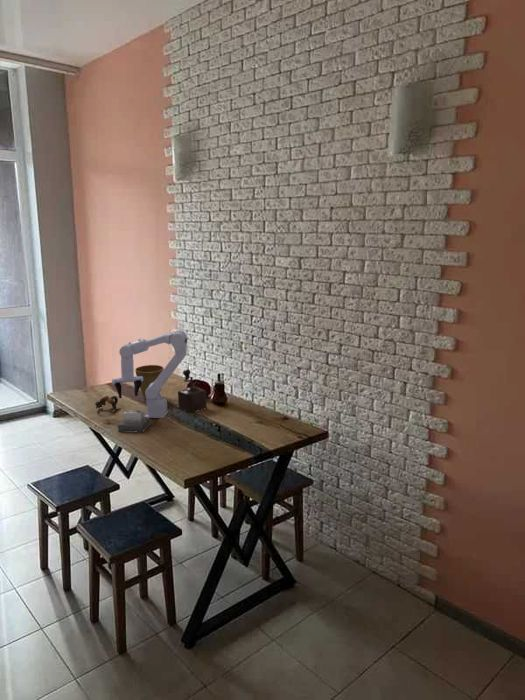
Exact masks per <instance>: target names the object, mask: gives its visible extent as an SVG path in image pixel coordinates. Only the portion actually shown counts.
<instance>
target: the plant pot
mask: <svg viewBox="0 0 525 700" xmlns="http://www.w3.org/2000/svg"><path fill="white" fill-rule="evenodd" d="M164 368H165V367H163V365H160V364H159V365H158V364H147V365H141V366H138V367H136V368H135V369H134V370H135V371H134V372H135V375H136V376H142V377H143V381H141V382H142V384H141V386H140V388H139V390H140V392H141V395H142V396H143V398H144V397H145V398H144V399H146V395H145V391H146V389H147V388H148V387H149V385H150V384H151V383H152V382H154V381H155V380H156V379H157V378H158V376H159V375H160V374H161V372H162V371H163V370H164ZM136 376H135V377H136Z"/></svg>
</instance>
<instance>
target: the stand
mask: <svg viewBox="0 0 525 700" xmlns="http://www.w3.org/2000/svg"><path fill="white" fill-rule="evenodd" d="M149 424H150V425H151V418H146V417H144V421H143V422H142V423H124V419H122V421H121V422H119V423H118V425H117V428H118V432H119V431H137V432H136V433H143V432H144V431H145V430H146V429H147V428H148V427H149V426H150V425H149ZM148 425H149V426H148ZM147 426H148V427H147ZM146 427H147V428H146ZM145 428H146V429H145ZM144 429H145V430H144ZM143 430H144V431H143Z"/></svg>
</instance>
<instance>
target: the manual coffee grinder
mask: <svg viewBox="0 0 525 700" xmlns="http://www.w3.org/2000/svg"><path fill="white" fill-rule="evenodd" d="M182 374H183V376H184V379H183V382H184V383H186V382H187V383H190V386H188V387H187V388H184V389H181V390H178V391H177V398H178V409H179V410H181V409H182V410H181V411H184V410H185V411H184V412H187V411H188V412H187V413H190V412H191V414H192V412H193V413H196V412H195V411H197V410H200V411H202V410H201V409H203V410H205V409H204V408H206V409H208V406H207V405H208V404H207V390H206V389H203V388H201V387H199V386H198V384H196V386H195V385H194V384H193V382H194V378H193V376H190V375H191V370H190V369H184V370H183V371H182ZM197 412H198V411H197Z"/></svg>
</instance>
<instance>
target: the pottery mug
mask: <svg viewBox="0 0 525 700" xmlns="http://www.w3.org/2000/svg"><path fill="white" fill-rule="evenodd" d="M118 401H119V397H118V396H115V395H113V396H111V397H109V396H108V395H106V396H104V397H102V398H101V399H99V401H96V402H95V403H94V405H95V409H100V407H102V408H103V406H106V405H107V404H106V402H107V403H108V404H110V405H111V407H110V411H113V410H115V409H116V408H117V404H118ZM115 411H116V410H115Z"/></svg>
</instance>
